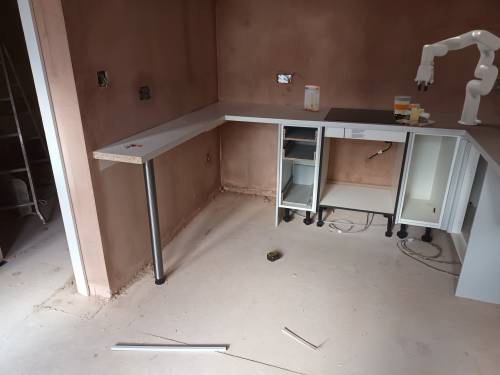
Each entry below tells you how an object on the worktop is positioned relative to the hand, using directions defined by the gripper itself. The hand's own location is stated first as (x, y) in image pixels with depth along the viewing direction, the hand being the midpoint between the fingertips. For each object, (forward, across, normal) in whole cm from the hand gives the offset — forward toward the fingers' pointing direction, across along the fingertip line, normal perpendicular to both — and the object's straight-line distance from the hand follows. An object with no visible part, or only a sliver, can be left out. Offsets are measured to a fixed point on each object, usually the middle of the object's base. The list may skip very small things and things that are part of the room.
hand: (422, 90), depth 267 cm
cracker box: (+26, +92, +16) cm, 97 cm away
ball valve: (+24, +6, -8) cm, 26 cm away
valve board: (+25, +6, -8) cm, 27 cm away
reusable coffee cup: (+25, +31, -26) cm, 48 cm away
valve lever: (+14, +6, -4) cm, 16 cm away
